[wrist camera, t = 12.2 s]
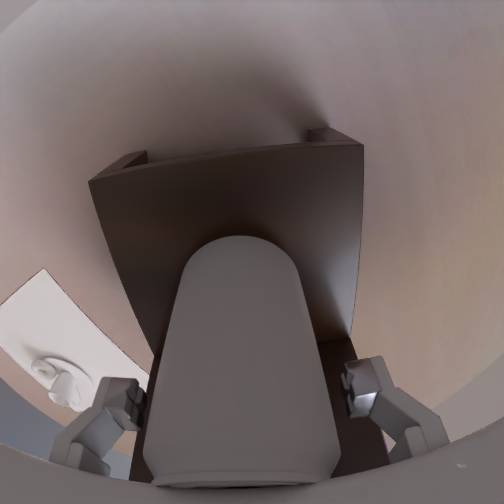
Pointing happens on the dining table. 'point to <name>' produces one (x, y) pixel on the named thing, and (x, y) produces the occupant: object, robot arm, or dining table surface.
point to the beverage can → (240, 377)
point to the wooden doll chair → (246, 224)
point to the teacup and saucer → (61, 385)
